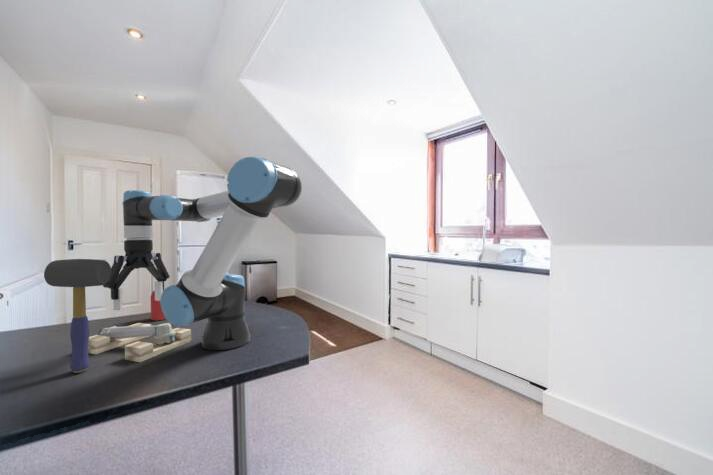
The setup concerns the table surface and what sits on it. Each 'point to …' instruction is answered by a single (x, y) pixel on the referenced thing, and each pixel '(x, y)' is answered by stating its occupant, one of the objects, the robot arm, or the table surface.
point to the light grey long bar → (141, 332)
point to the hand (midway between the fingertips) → (139, 305)
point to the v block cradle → (138, 344)
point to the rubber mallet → (78, 299)
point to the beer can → (156, 309)
